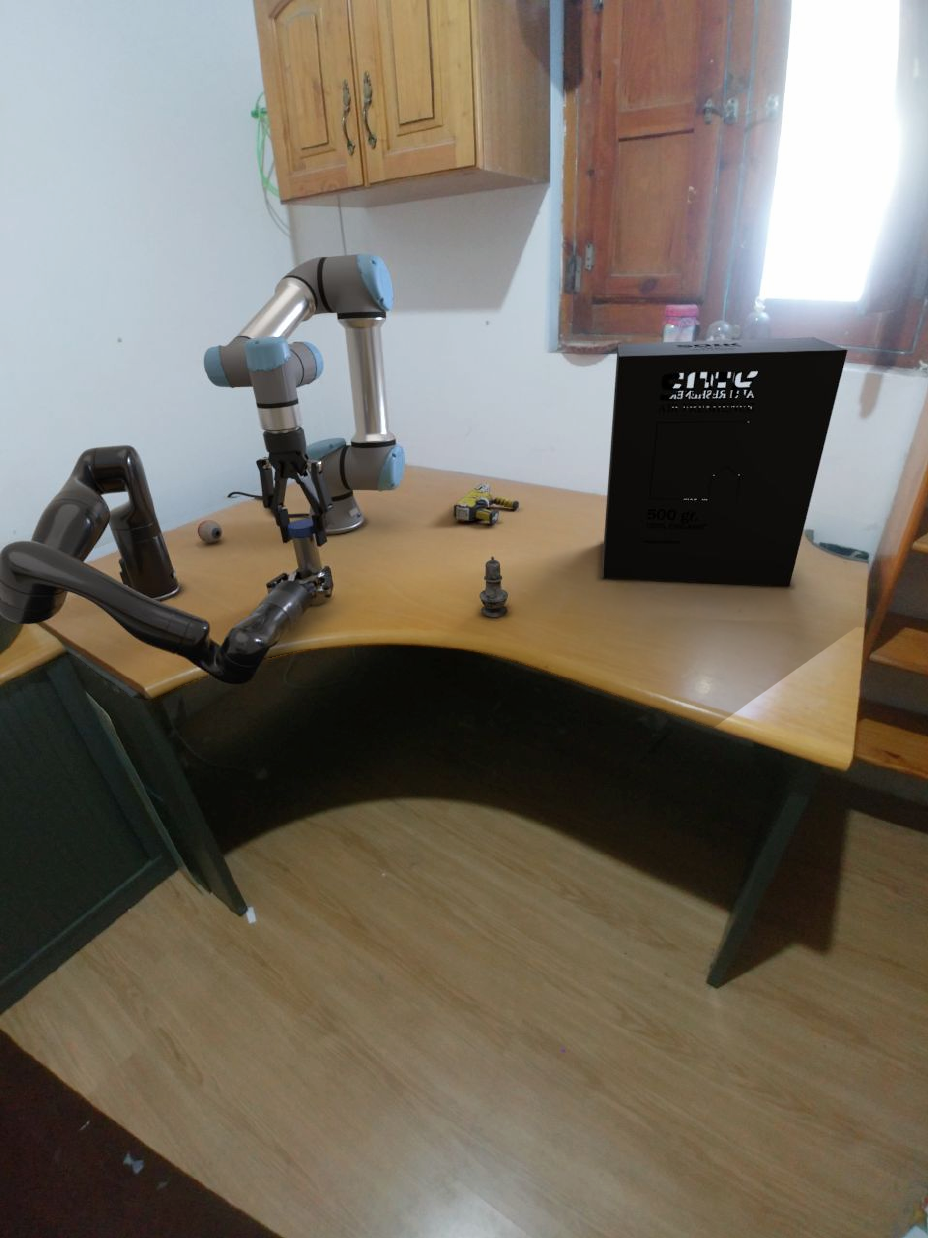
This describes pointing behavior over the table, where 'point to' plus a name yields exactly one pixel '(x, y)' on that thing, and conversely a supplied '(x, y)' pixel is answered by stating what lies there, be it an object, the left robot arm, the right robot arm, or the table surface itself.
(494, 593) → the dark grey tiered cylinder
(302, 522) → the lid
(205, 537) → the eyeball
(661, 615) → the table surface
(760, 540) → the cardboard box
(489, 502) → the toy gun
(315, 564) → the jar
